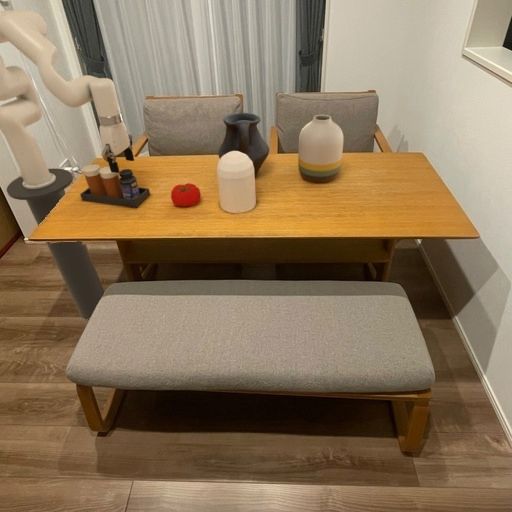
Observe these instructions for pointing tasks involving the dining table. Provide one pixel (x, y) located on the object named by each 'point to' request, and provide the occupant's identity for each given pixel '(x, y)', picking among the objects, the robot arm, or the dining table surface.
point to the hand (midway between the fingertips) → (123, 166)
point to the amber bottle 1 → (94, 180)
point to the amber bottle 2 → (111, 183)
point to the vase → (320, 149)
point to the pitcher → (244, 138)
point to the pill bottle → (129, 185)
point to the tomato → (185, 195)
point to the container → (236, 182)
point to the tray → (115, 201)
